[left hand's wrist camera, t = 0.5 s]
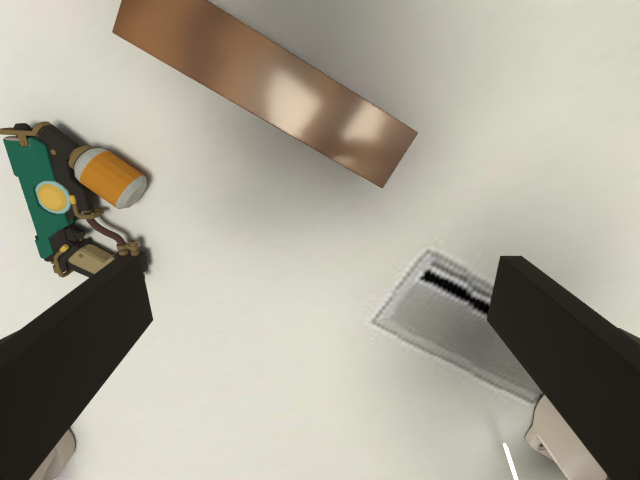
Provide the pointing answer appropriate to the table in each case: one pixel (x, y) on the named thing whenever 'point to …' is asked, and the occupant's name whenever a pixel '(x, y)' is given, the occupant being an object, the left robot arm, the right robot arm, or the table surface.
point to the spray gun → (71, 194)
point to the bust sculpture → (56, 459)
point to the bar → (267, 82)
